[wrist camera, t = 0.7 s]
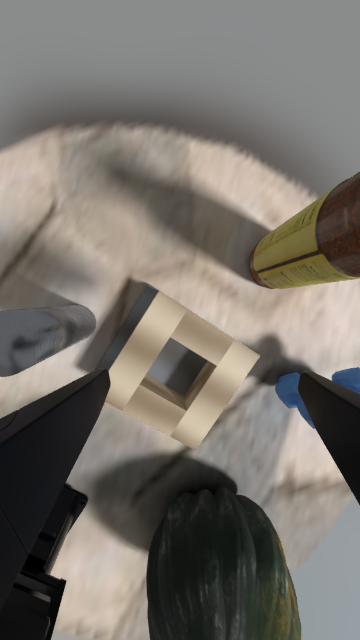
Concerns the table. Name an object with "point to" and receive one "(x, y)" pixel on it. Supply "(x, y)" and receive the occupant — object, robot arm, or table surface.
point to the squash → (219, 573)
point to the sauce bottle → (313, 243)
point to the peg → (40, 334)
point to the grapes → (290, 396)
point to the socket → (174, 368)
